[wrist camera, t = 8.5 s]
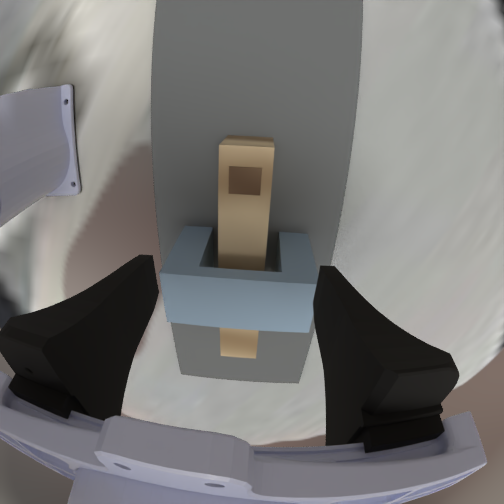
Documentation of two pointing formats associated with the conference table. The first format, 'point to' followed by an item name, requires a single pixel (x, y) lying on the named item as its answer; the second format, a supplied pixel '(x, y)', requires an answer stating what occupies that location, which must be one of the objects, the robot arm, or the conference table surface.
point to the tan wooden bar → (243, 220)
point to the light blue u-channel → (239, 286)
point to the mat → (253, 124)
